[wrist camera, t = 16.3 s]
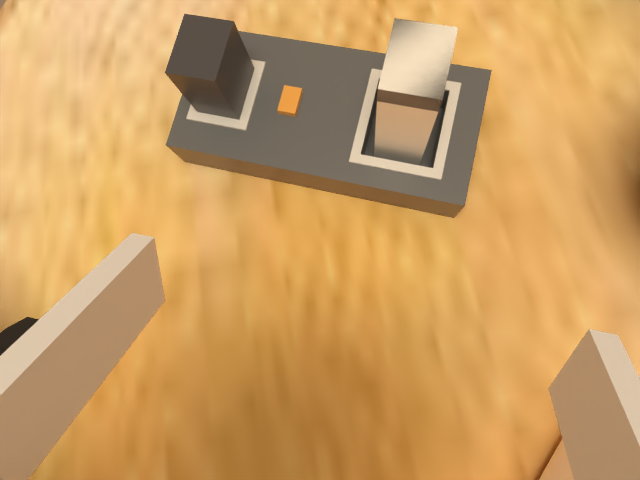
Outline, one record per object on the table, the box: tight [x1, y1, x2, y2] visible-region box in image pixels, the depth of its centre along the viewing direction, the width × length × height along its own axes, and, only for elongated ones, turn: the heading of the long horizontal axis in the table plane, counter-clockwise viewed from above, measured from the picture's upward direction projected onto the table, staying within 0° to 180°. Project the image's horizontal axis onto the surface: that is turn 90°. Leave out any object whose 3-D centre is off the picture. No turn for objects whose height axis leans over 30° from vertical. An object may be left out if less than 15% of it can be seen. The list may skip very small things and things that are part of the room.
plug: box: [374, 18, 458, 165], centre depth 32 cm, size 4×5×12 cm
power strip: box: [165, 14, 491, 218], centre depth 34 cm, size 26×12×10 cm, turn 76°
